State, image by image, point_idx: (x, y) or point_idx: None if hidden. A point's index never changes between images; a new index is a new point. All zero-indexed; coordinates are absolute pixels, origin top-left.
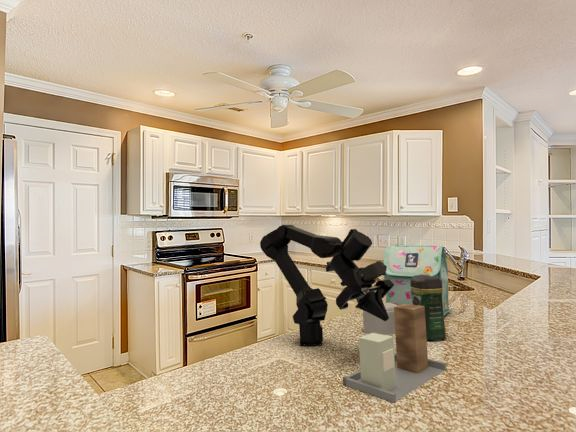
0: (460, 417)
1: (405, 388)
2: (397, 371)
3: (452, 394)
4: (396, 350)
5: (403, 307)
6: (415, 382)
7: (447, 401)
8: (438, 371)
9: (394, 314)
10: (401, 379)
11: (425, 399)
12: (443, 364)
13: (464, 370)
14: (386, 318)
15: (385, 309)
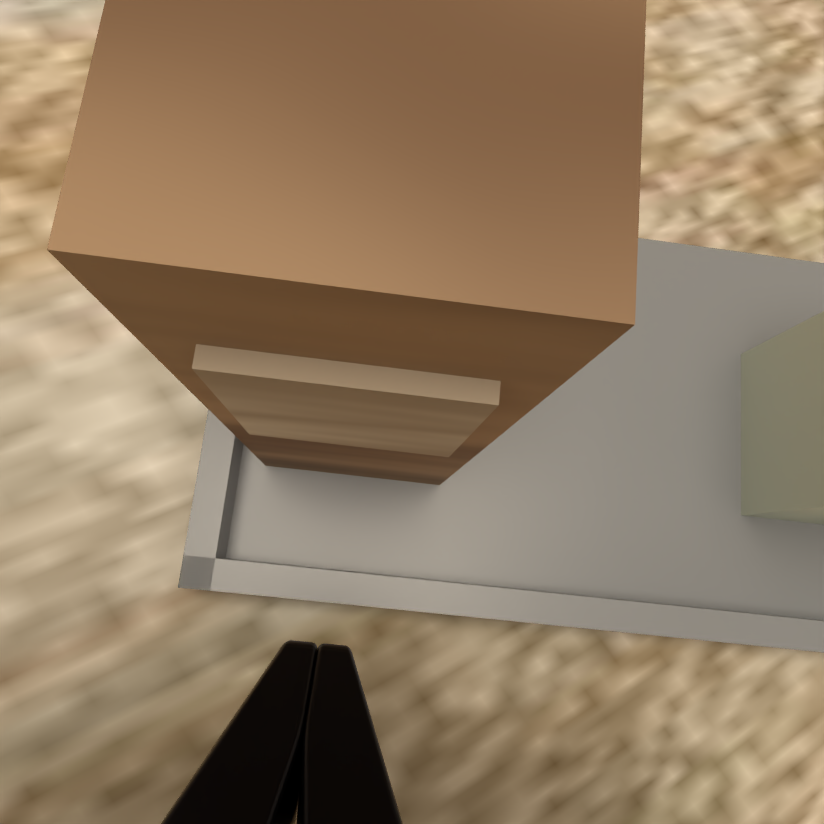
0: (796, 6)
1: (729, 295)
2: (501, 455)
3: None
4: (459, 466)
5: (557, 107)
6: None
7: (681, 88)
8: None
9: (574, 370)
10: (619, 371)
11: (734, 182)
12: None
13: None
14: (354, 662)
15: (194, 795)
